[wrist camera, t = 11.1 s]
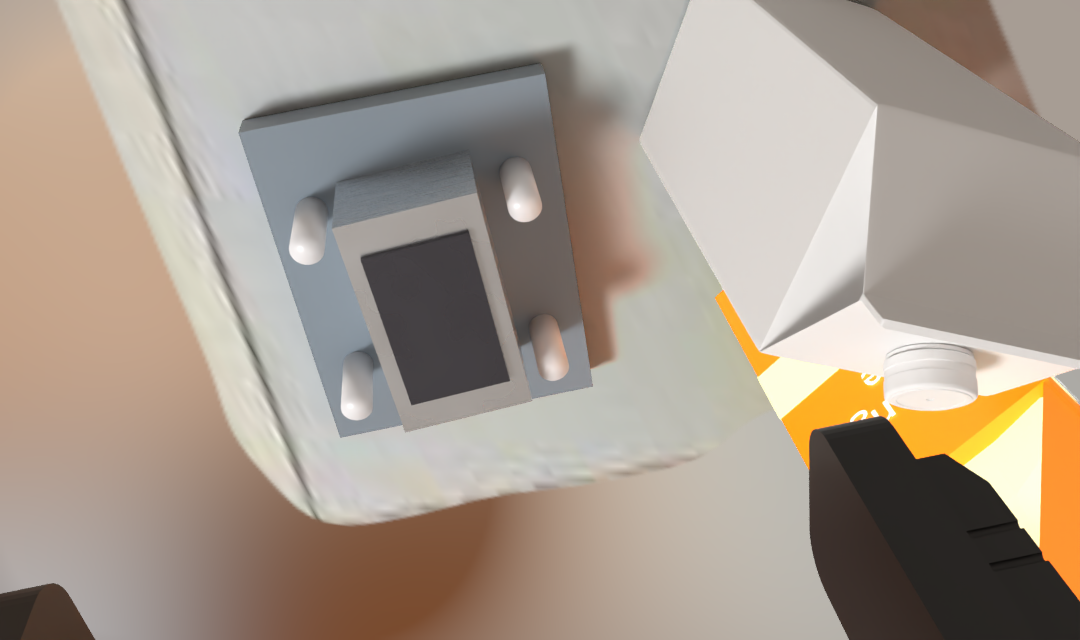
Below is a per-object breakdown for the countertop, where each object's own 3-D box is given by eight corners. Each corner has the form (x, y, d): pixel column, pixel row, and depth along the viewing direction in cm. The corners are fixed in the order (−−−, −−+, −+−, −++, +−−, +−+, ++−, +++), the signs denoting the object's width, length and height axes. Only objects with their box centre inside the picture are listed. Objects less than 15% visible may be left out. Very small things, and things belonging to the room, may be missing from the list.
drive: (336, 182, 37) (331, 231, 34) (468, 149, 37) (477, 195, 34) (403, 375, 42) (405, 435, 39) (520, 346, 42) (532, 404, 39)
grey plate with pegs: (242, 120, 37) (227, 166, 33) (540, 62, 37) (557, 102, 33) (341, 420, 44) (337, 484, 41) (588, 370, 45) (605, 429, 41)
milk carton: (703, -45, 36) (963, 171, 20) (876, 8, 38) (1243, 244, 22) (635, 140, 39) (812, 452, 23) (798, 180, 41) (1064, 495, 25)
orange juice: (850, 169, 41) (1175, 504, 24) (968, 286, 45) (1320, 645, 28) (710, 300, 44) (917, 686, 27) (834, 400, 47) (1082, 793, 31)
